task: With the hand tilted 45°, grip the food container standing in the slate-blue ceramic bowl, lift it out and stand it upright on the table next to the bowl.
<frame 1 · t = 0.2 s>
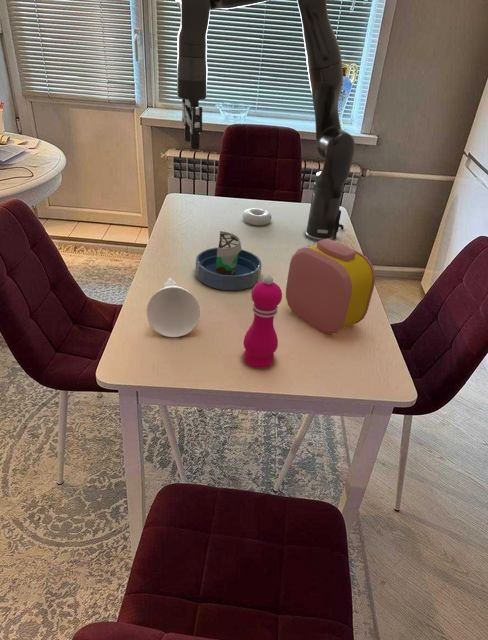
hand: (191, 144, 133), 29 cm above the table, tool pointing down, fingers open, 8 cm apart
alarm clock: (321, 320, 121), on the table
donut: (256, 221, 171), on the table
rocket engine: (179, 316, 117), on the table
pepper mill: (258, 360, 106), on the table
bowl: (227, 275, 136), on the table
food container: (227, 275, 136), resting on bowl
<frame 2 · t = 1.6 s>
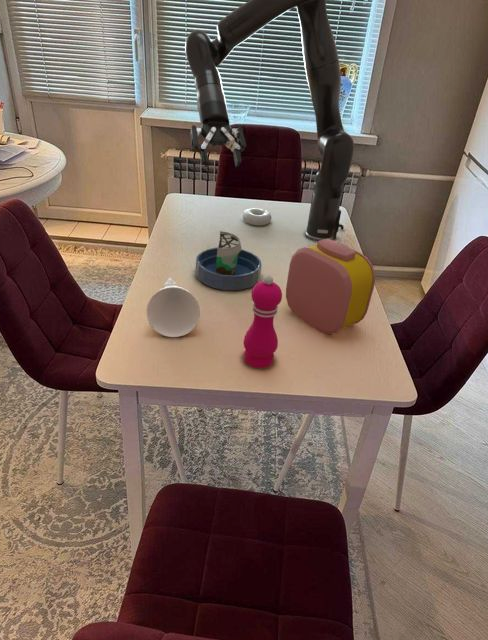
hand: (222, 165, 128), 27 cm above the table, tool tilted 45°, fingers open, 8 cm apart
nothing on the table moved.
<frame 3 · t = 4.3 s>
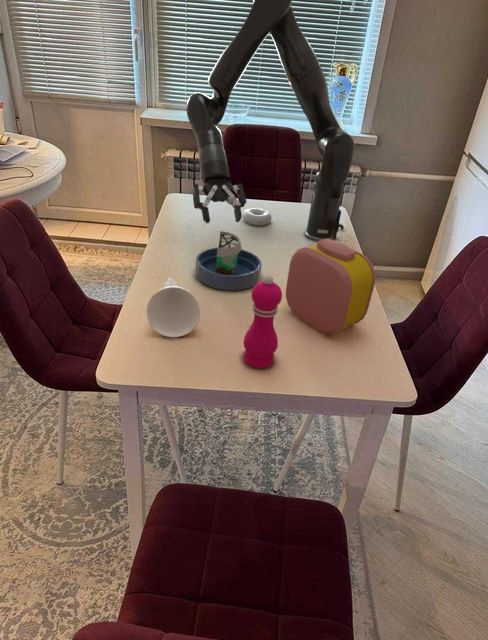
hand: (223, 221, 133), 13 cm above the table, tool tilted 45°, fingers open, 8 cm apart
nothing on the table moved.
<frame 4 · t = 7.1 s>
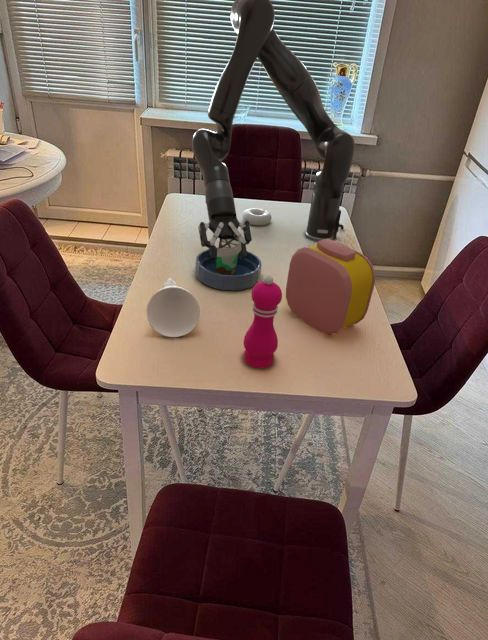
hand: (229, 259, 131), 6 cm above the table, tool tilted 45°, fingers closed on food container, 7 cm apart
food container: (227, 275, 136), resting on bowl, touching gripper
everything else where it was.
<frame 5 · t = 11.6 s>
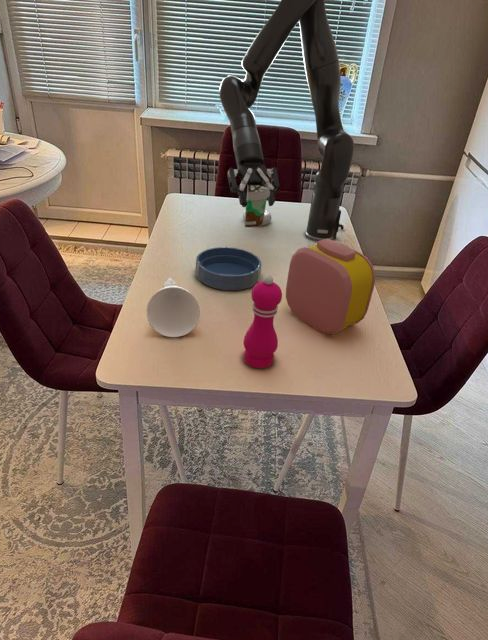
hand: (258, 205, 133), 17 cm above the table, tool tilted 45°, fingers closed on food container, 7 cm apart
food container: (255, 222, 138), point 12 cm above the table, touching gripper
everything else where it was.
when the fingers open (5 cm above the table, at t = 16.4 s): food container stays where it is, on the table.
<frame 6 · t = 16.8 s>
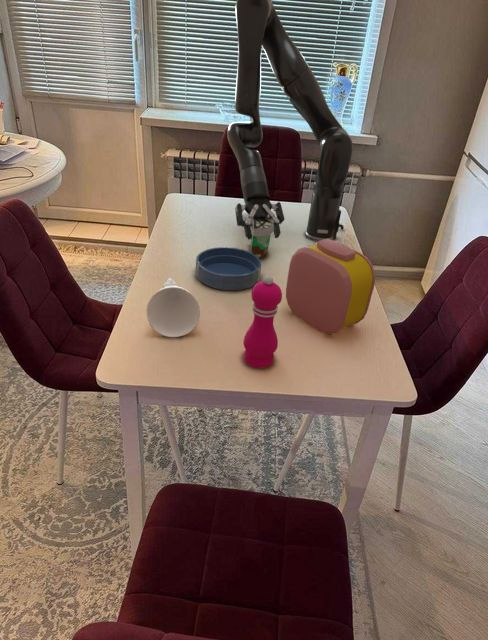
hand: (263, 237, 145), 6 cm above the table, tool tilted 45°, fingers open, 8 cm apart
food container: (260, 254, 149), on the table
everything else where it was.
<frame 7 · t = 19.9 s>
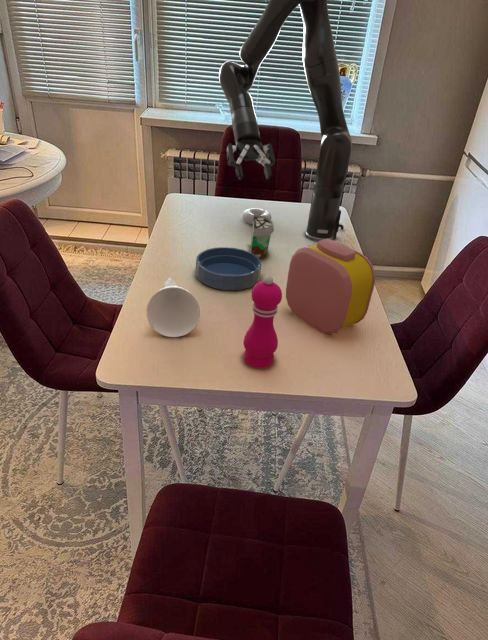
hand: (254, 178, 146), 19 cm above the table, tool tilted 45°, fingers open, 8 cm apart
nothing on the table moved.
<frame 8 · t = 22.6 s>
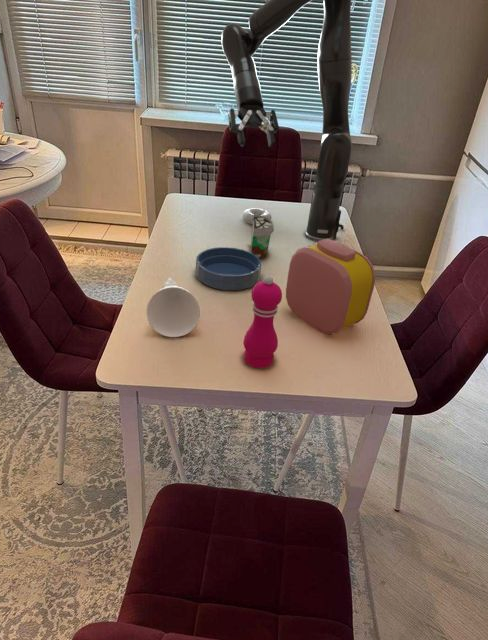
hand: (257, 145, 140), 29 cm above the table, tool tilted 45°, fingers open, 8 cm apart
nothing on the table moved.
at the end: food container inside the target area (0.2 cm from its centre), on the table; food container tilted 0°; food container touching table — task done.
